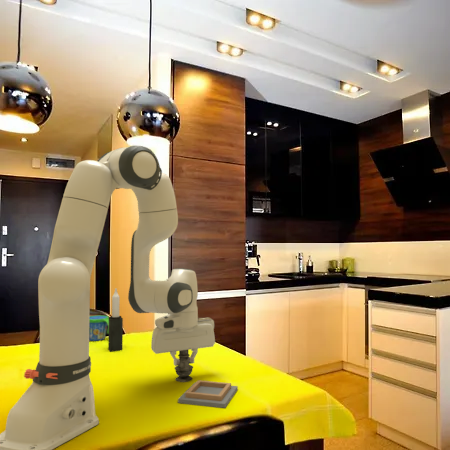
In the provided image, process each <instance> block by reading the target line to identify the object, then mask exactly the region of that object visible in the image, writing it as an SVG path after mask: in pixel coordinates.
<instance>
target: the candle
mask: <svg viewBox="0 0 450 450" xmlns="http://www.w3.org/2000/svg"><path fill="white" fill-rule="evenodd" d="M111 298H112V299H111V316H109V334H107V335H108V336H107V337H108V339H107V340H108V342H107V343H108V345H107V347H108V348H107V349H108V350H109V352H112V353H113V352H120V350H121V351H123V341H124V340H123V336H124V335H123V328H124V327H123V326H124V325H123V323H124V322H123V321H124V318H123V317H122V315H120V295H119V293H118V288H114V293H113V295H112V296H111Z"/></svg>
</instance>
